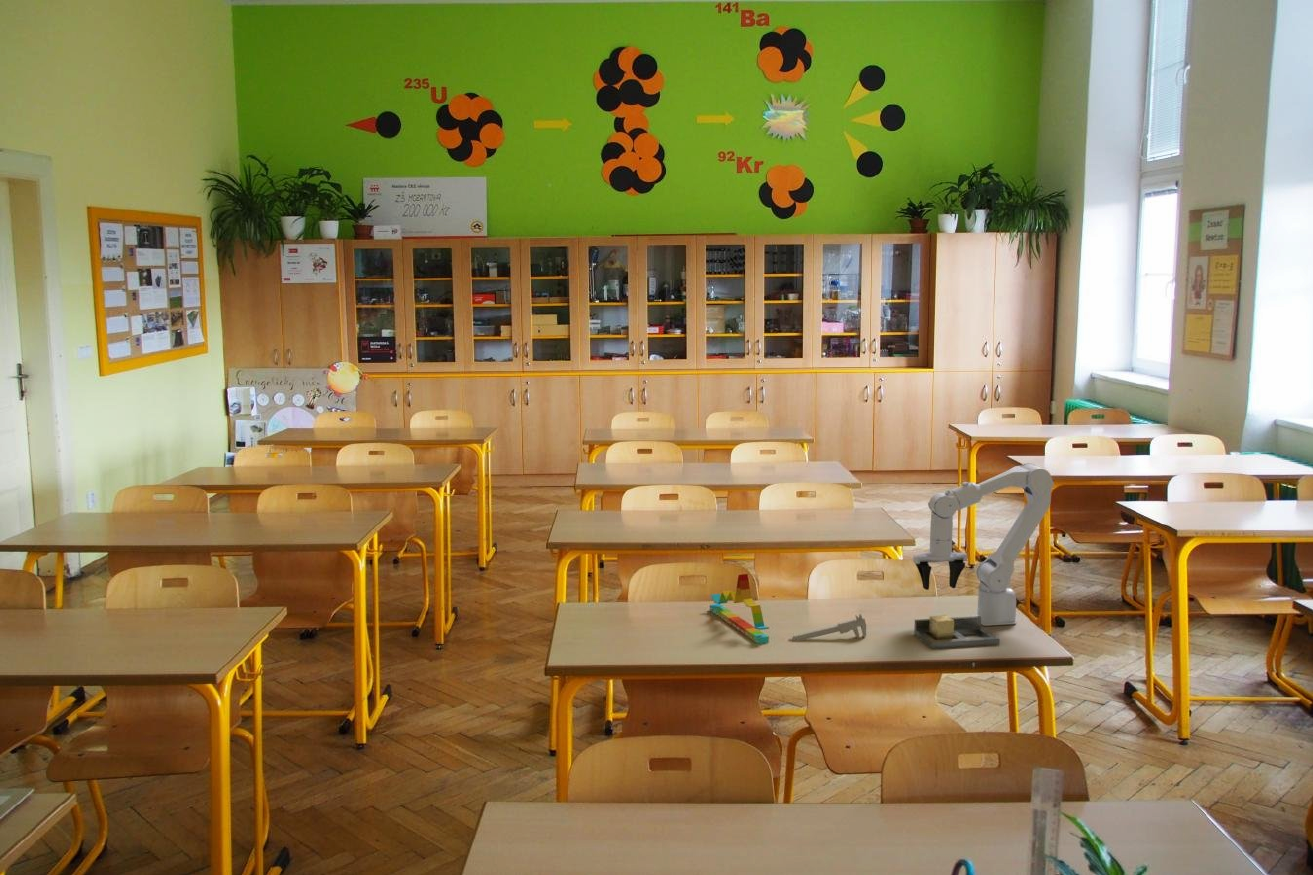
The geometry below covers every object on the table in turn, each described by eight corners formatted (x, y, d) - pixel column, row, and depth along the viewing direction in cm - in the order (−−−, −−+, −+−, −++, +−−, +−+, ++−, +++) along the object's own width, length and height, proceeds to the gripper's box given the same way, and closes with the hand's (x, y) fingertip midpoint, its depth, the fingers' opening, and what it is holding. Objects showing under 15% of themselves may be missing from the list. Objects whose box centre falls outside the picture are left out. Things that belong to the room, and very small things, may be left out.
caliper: (866, 634, 284) (863, 613, 283) (868, 636, 283) (864, 614, 282) (791, 654, 281) (786, 632, 280) (792, 655, 280) (787, 633, 279)
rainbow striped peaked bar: (708, 611, 305) (709, 558, 303) (719, 610, 306) (719, 557, 304) (757, 645, 277) (758, 587, 275) (768, 643, 278) (769, 586, 276)
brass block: (944, 637, 283) (945, 615, 282) (953, 643, 278) (954, 620, 277) (928, 638, 282) (929, 616, 281) (936, 644, 277) (937, 621, 276)
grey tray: (978, 630, 288) (979, 616, 287) (999, 644, 277) (999, 629, 277) (914, 634, 285) (914, 619, 284) (932, 648, 274) (932, 633, 273)
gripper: (959, 533, 297) (957, 582, 299) (909, 536, 295) (907, 585, 297) (971, 539, 291) (969, 589, 293) (920, 542, 288) (918, 592, 290)
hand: (939, 588), depth 294 cm, fingers open, 7 cm apart
